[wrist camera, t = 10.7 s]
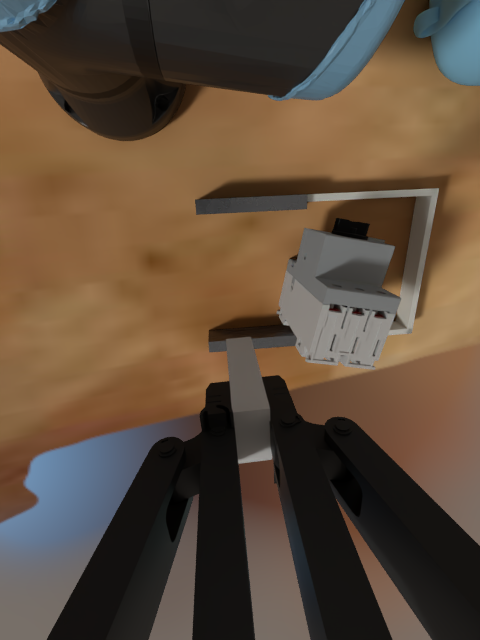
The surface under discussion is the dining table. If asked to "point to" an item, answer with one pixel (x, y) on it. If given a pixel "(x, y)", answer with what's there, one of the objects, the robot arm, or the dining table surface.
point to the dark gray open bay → (261, 334)
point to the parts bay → (416, 246)
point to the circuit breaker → (339, 296)
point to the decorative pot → (453, 38)
